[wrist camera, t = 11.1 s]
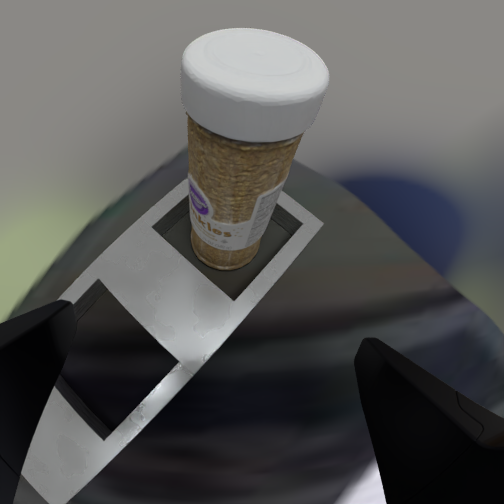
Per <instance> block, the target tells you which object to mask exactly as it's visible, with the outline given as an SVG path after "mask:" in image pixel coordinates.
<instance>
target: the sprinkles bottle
mask: <svg viewBox="0 0 504 504" xmlns="http://www.w3.org/2000/svg"><path fill="white" fill-rule="evenodd" d="M328 84H329V72H328V69H327V67H326V65H325V63H324V62H323V60H322V59H321V58H320V57H319V56H318V55H317V54H316V53H315V52H314V51H313V50H311V49H310V48H308V47H307V46H305V45H304V44H302V43H301V42H299V41H297V40H294V39H292V38H290V37H288V36H285V35H281V34H278V33H275V32H271V31H266V30H261V29H253V28H231V29H223V30H218V31H214V32H211V33H208V34H205V35H203V36H201V37H199V38H197V39H196V40H194V41H193V42H192V43H190V44H189V45H188V47H187V48H186V49H185V51H184V53H183V56H182V62H181V100H182V104H183V106H184V109H185V110H186V114H187V115H188V152H189V171H188V189H189V207H190V219H191V223H192V230H191V243H192V247H193V250H194V252H195V254H196V255H197V257H198V259H199V260H201V261H202V262H203V263H204V264H206V265H207V266H209V267H212V268H214V269H218V270H234V269H238V268H241V267H243V266H244V265H246V264H248V263H250V261H251V260H252V259H253V258H254V256H255V255H256V253H257V251H258V249H259V245H260V239H261V237H262V235H263V233H264V232H265V230H266V227H267V225H268V223H269V220H270V218H271V215H272V213H273V210H274V208H275V205H276V203H277V200H278V198H279V195H280V193H281V190H282V188H283V186H284V183H285V181H286V178H287V176H288V173H289V170H290V165H291V163H292V159H293V158H294V155H295V153H296V150H297V147H298V144H299V143H300V140H301V137H302V135H303V133H304V132H305V131H306V130H307V129H308V128H309V127H310V126H311V125H312V124H313V122H314V120H315V118H316V116H317V113H318V111H319V109H320V106H321V104H322V101H323V98H324V96H325V93H326V90H327V87H328Z"/></svg>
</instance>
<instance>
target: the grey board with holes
mask: <svg viewBox="0 0 504 504" xmlns="http://www.w3.org/2000/svg"><path fill="white" fill-rule="evenodd" d="M189 210H190V207H189V189H188V177H187V178H186V179H185V180H184V181H183V182H181V183H180V184H179V185H178V186H176V187H175V188H174V189H173V190H172V191H170V192H169V193H168V194H167V195H166V196H165V197H163V198H162V199H161V200H160V201H159V202H158V203H156V204H155V205H154V206H153V207H152V208H151V209H149V210H148V211H147V212H146V213H145V214H144V215H143V216H142V217H140V218H139V219H138V220H137V221H136V222H135V223H134V224H133V225H132V226H130V227H129V228H128V229H127V230H126V231H125V232H124V233H123V234H122V235H121V236H120V237H119V238H118V239H117V240H115V241H114V242H113V243H112V244H111V245H110V246H109V247H108V248H107V249H106V250H105V251H104V252H103V253H102V254H101V255H100V256H99V257H98V258H97V259H96V260H95V261H94V262H93V263H92V264H91V265H90V266H89V267H88V268H87V269H86V270H85V271H84V272H83V273H82V274H81V275H80V276H79V277H78V278H77V279H76V280H75V281H74V282H73V284H72V285H71V286H70V287H69V288H68V289H67V290H66V291H65V292H64V293H63V294H62V295H61V296H60V298H59V299H58V300H60V299H63V300H67V301H71V302H72V303H73V305H74V311H75V316H76V322H77V321H78V320H79V319H80V317H81V316H82V315H83V314H84V313H85V312H86V311H87V310H88V309H89V308H90V307H91V306H92V305H93V303H94V302H95V301H96V300H97V299H98V298H99V297H100V296H101V295H102V294H103V293H104V292H105V291H106V290H107V289H108V290H109V291H110V292H111V293H112V294H113V295H114V296H115V297H116V298H117V300H118V301H119V302H120V303H121V304H122V305H123V306H124V307H125V308H126V309H127V310H128V311H129V312H130V313H131V315H132V316H133V317H134V318H135V319H136V320H137V321H138V322H139V323H140V324H141V325H142V326H143V327H144V328H145V329H146V330H147V331H148V332H149V333H150V334H151V335H152V336H153V337H154V338H155V339H156V340H157V341H158V342H159V343H160V344H161V345H162V346H164V347H165V348H166V349H167V350H168V351H169V352H170V353H171V354H172V355H173V356H174V357H175V358H176V359H177V360H179V361H180V362H179V363H178V364H177V365H176V366H175V367H174V368H173V369H172V370H171V371H170V372H169V373H168V374H167V376H166V377H165V378H164V379H163V380H162V381H161V382H160V383H159V384H158V385H157V386H156V387H155V388H154V389H153V390H152V392H151V393H150V394H149V395H148V396H147V397H146V398H145V399H144V400H143V401H142V402H141V403H140V404H139V405H138V406H137V407H136V408H135V409H134V410H133V412H132V413H131V414H130V415H129V416H128V417H127V418H126V419H125V420H124V421H123V422H122V423H121V424H120V425H119V426H118V427H117V428H116V429H115V430H114V431H113V432H111V431H110V430H109V429H108V428H107V427H106V426H105V425H104V424H103V423H102V422H101V421H100V420H99V419H98V418H97V417H96V415H95V414H94V413H93V412H92V411H91V410H90V409H89V408H88V407H87V406H86V405H85V404H84V402H83V401H82V400H81V399H80V398H79V397H78V396H77V395H76V393H75V392H74V391H73V390H72V389H71V387H70V386H69V385H68V384H67V383H66V381H65V380H64V379H63V378H62V376H61V375H59V377H58V379H57V381H56V383H55V386H54V388H53V390H52V392H51V395H50V397H49V399H48V401H47V404H46V406H45V408H44V411H43V413H42V416H41V418H40V421H39V423H38V426H37V428H36V431H35V434H34V436H33V439H32V442H31V445H30V447H29V450H28V453H27V456H26V459H25V462H24V465H23V468H22V472H21V474H22V475H23V476H24V477H25V478H26V480H27V481H28V482H29V483H30V484H31V485H32V486H33V487H34V488H35V489H36V491H37V492H38V493H39V494H40V495H41V496H42V497H43V498H44V499H45V500H46V501H47V502H48V503H49V504H66V503H68V502H69V501H70V500H71V499H72V498H73V497H74V496H75V495H76V494H77V493H79V492H80V491H81V490H82V489H83V488H84V487H85V486H86V485H87V484H88V483H89V482H90V481H91V480H92V479H93V478H94V477H95V476H96V475H98V474H99V473H100V472H101V471H102V470H103V469H104V468H105V467H106V466H107V465H108V464H109V463H110V462H111V461H112V460H113V459H114V458H115V457H116V456H117V455H118V454H119V453H120V452H121V451H122V450H123V449H124V448H125V447H126V446H127V445H128V444H129V443H130V442H131V441H132V440H133V439H134V438H135V437H136V436H137V435H138V434H139V433H140V432H141V431H142V430H143V429H144V428H145V427H146V426H147V425H148V424H149V423H150V422H151V421H152V420H153V419H154V417H155V416H156V415H157V414H158V413H159V412H160V411H161V410H162V409H163V408H164V407H165V406H166V405H167V404H168V403H169V402H170V401H171V400H172V399H173V398H174V396H175V395H176V394H177V393H178V392H179V391H180V390H181V389H182V388H183V387H184V386H185V385H186V384H187V383H188V381H189V380H190V379H191V378H192V377H193V376H194V375H195V374H196V373H197V372H198V371H199V370H200V368H201V367H202V366H203V365H204V364H205V363H206V362H207V361H208V360H209V359H210V357H211V356H212V355H213V354H214V353H215V352H216V351H217V350H218V349H219V347H220V346H221V345H222V344H223V343H224V342H225V341H226V340H227V338H228V337H229V336H230V335H231V334H232V333H233V332H234V331H235V329H236V328H237V327H238V326H239V325H240V324H241V323H242V322H243V320H244V319H245V318H246V317H247V316H248V315H249V313H250V312H251V311H252V310H253V309H254V308H255V307H256V305H257V304H258V303H259V302H260V301H261V300H262V298H263V297H264V296H265V295H266V294H267V293H268V291H269V290H270V289H271V288H272V287H273V286H274V284H275V283H276V282H277V281H278V280H279V278H280V277H281V276H282V275H283V274H284V273H285V271H286V270H287V269H288V268H289V267H290V265H291V264H292V263H293V262H294V261H295V259H296V258H297V257H298V256H299V255H300V253H301V252H302V251H303V250H304V248H305V247H306V246H307V245H308V244H309V242H310V241H311V240H312V239H313V237H314V236H315V235H316V234H317V232H318V231H319V230H320V228H321V227H322V226H323V224H324V223H322V222H321V221H320V220H319V219H317V218H316V217H315V216H314V215H312V214H311V213H310V212H309V211H307V210H306V209H305V208H304V207H302V206H301V205H300V204H298V203H297V202H296V201H295V200H293V199H292V198H291V197H289V196H288V195H287V194H286V193H284V192H283V191H282V190H281V193H280V195H279V198H278V200H277V203H276V205H275V208H274V210H273V213H272V215H271V218H272V219H273V220H274V221H275V222H277V223H278V224H279V225H280V226H282V227H283V228H284V229H285V230H287V231H288V232H289V233H290V234H291V235H293V236H292V237H291V238H290V240H289V241H288V242H287V243H286V244H285V245H284V246H283V248H282V249H281V250H280V251H279V252H278V253H277V254H276V256H275V257H274V258H273V259H272V260H271V261H270V262H269V263H268V265H267V266H266V267H265V268H264V269H263V270H262V271H261V272H260V274H259V275H258V276H257V277H256V278H255V279H254V280H253V281H252V283H251V284H250V285H249V286H248V287H247V288H246V289H245V290H244V291H243V293H242V294H241V295H240V296H239V297H238V298H237V299H236V300H235V301H233V300H232V299H231V298H230V297H228V296H227V295H226V294H225V293H224V292H223V291H221V290H220V289H219V288H218V287H217V286H216V285H215V284H213V283H212V282H211V281H210V280H209V279H208V278H207V277H206V276H204V275H203V274H202V273H201V272H200V271H199V270H198V269H197V268H195V267H194V266H193V265H192V264H191V263H190V262H189V261H188V260H187V259H185V258H184V257H183V256H182V255H181V254H180V253H179V252H178V251H177V250H176V249H174V248H173V247H172V246H171V245H170V244H169V243H168V242H167V241H166V240H165V239H164V238H163V237H161V236H162V235H163V234H164V233H165V232H166V231H167V230H168V229H170V228H171V227H172V226H173V225H174V224H175V223H176V222H177V221H178V220H179V219H181V218H182V217H183V216H184V215H185V214H186V213H187V212H188V211H189Z"/></svg>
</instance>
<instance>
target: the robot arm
mask: <svg viewBox="0 0 504 504" xmlns="http://www.w3.org/2000/svg"><path fill="white" fill-rule="evenodd" d="M76 329H77V322H76V316H75V311H74V305H73V303H72V302H71V301H67V300H63V299H60V300H57V301H55V302H52V303H50V304H47V305H45V306H42V307H40V308H37V309H35V310H32V311H30V312H27V313H25V314H22V315H20V316H17V317H15V318H13V319H10V320H8V321H5V322H3V323H1V324H0V504H13V501H14V497H15V493H16V489H17V486H18V482H19V479H20V477H19V476H20V475H21V472H22V468H23V465H24V462H25V459H26V456H27V453H28V450H29V447H30V445H31V442H32V439H33V436H34V434H35V431H36V428H37V426H38V423H39V421H40V418H41V416H42V413H43V411H44V408H45V406H46V404H47V401H48V399H49V397H50V395H51V392H52V390H53V388H54V386H55V383H56V381H57V379H58V377H59V375H60V372H61V370H62V368H63V365H64V363H65V360H66V357H67V354H68V351H69V349H70V346H71V343H72V341H73V338H74V335H75V333H76ZM354 366H355V371H356V377H357V382H358V388H359V394H360V399H361V404H362V408H363V411H364V415H365V419H366V422H367V426H368V429H369V433H370V437H371V441H372V444H373V448H374V452H375V456H376V460H377V464H378V468H379V472H380V477H381V481H382V485H383V490H384V494H385V499H386V503H387V504H504V418H502V417H500V416H498V415H496V414H495V413H493V412H491V411H489V410H487V409H486V408H484V407H482V406H480V405H479V404H477V403H475V402H474V401H472V400H470V399H469V398H467V397H466V396H464V395H463V394H461V393H460V392H458V391H455V389H453V388H452V387H450V386H449V385H447V384H446V383H444V382H443V381H441V380H440V379H438V378H437V377H435V376H434V375H432V374H431V373H429V372H427V371H426V370H424V369H423V368H421V367H420V366H418V365H417V364H415V363H414V362H412V361H411V360H409V359H408V358H406V357H405V356H403V355H402V354H400V353H399V352H397V351H396V350H394V349H393V348H391V347H390V346H388V345H387V344H385V343H384V342H382V341H381V340H379V339H377V338H364V339H363V340H362V342H361V345H360V347H359V349H358V352H357V354H356V356H355V359H354Z"/></svg>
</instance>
